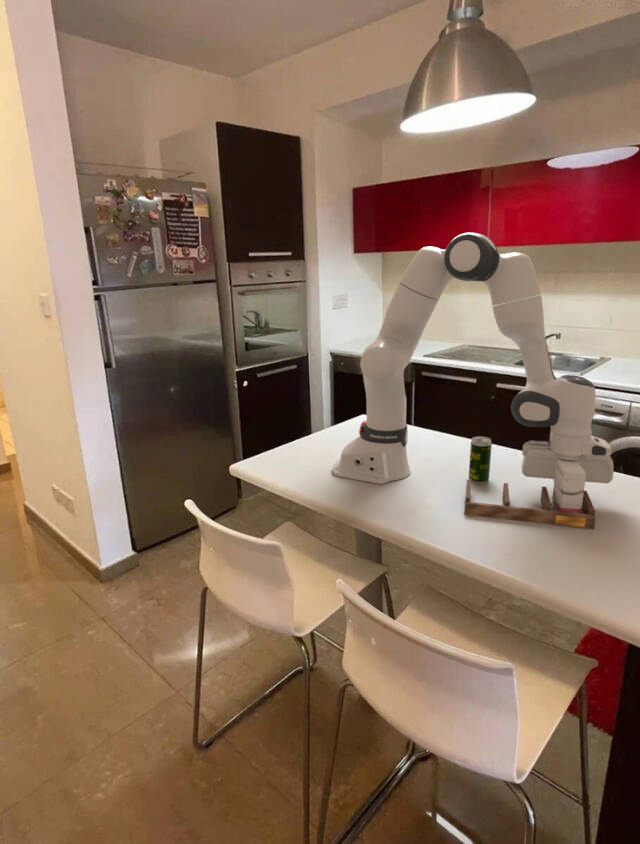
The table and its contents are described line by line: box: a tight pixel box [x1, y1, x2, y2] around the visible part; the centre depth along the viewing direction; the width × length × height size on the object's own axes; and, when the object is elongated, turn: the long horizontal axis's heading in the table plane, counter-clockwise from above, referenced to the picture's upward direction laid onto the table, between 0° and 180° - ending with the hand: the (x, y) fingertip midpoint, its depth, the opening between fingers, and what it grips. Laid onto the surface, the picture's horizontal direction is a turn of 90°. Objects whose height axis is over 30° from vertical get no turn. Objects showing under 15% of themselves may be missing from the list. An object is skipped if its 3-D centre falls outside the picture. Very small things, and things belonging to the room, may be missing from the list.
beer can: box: [468, 436, 493, 485], centre depth 139 cm, size 5×5×12 cm
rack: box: [463, 478, 596, 530], centre depth 123 cm, size 28×12×4 cm, turn 73°
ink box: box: [551, 459, 586, 514], centre depth 121 cm, size 9×5×12 cm, turn 167°
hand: (562, 494), depth 127 cm, fingers closed
